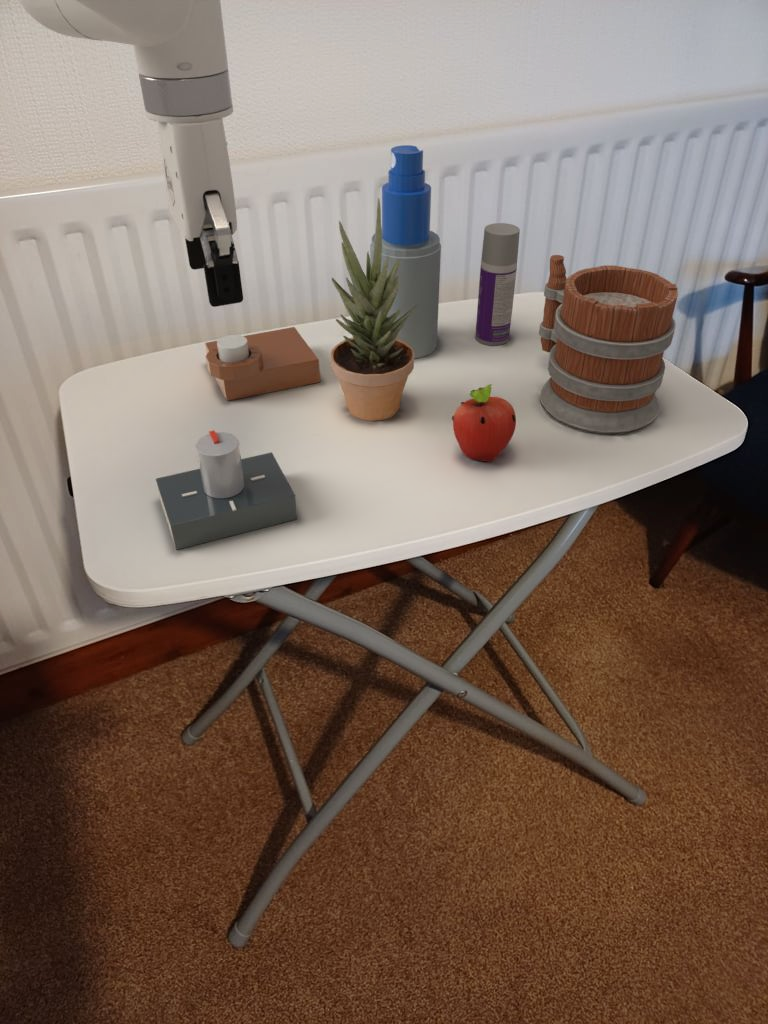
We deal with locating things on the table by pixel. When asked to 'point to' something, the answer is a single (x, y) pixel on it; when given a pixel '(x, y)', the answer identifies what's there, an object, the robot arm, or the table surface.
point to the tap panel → (226, 503)
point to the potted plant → (371, 336)
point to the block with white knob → (265, 365)
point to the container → (497, 283)
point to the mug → (605, 345)
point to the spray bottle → (411, 248)
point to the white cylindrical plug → (233, 348)
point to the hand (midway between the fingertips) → (215, 284)
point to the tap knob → (220, 464)
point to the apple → (484, 425)
